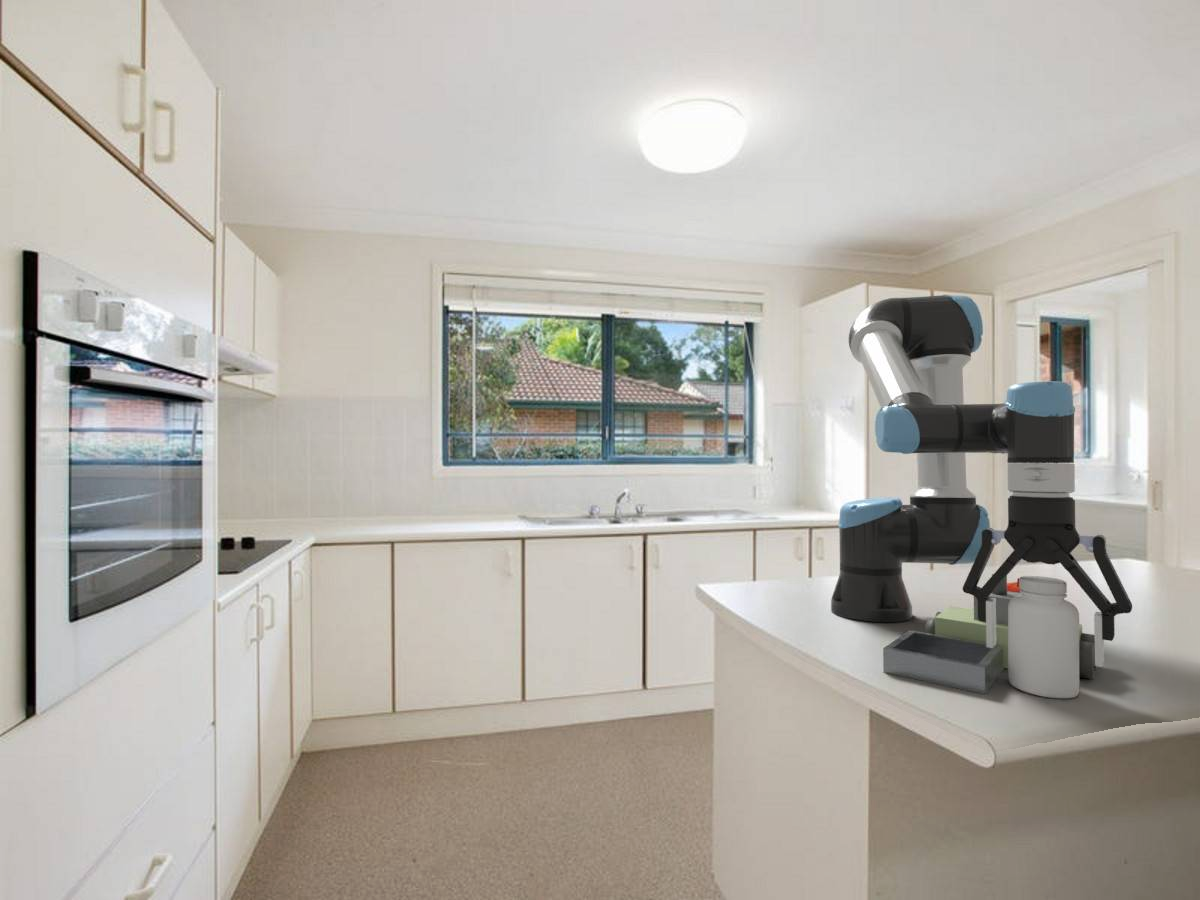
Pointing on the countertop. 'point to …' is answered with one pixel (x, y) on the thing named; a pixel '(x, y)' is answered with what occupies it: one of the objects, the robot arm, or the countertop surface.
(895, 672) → the grey square tray
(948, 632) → the green roller box
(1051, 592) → the pill bottle
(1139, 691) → the countertop surface
